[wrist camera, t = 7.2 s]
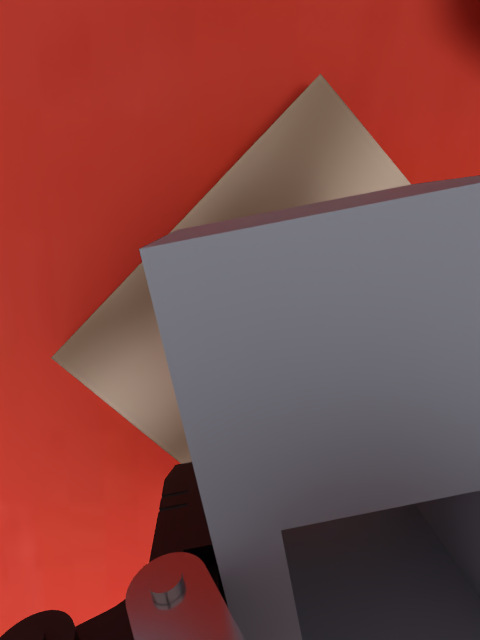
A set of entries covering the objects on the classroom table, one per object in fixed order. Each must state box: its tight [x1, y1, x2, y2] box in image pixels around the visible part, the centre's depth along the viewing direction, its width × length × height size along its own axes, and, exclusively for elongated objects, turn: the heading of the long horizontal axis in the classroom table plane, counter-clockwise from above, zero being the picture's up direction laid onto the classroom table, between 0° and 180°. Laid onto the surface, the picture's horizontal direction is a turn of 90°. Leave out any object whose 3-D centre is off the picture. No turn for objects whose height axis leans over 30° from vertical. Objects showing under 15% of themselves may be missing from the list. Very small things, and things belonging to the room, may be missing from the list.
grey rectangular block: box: [139, 175, 480, 640], centre depth 9 cm, size 12×6×5 cm, turn 11°
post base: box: [51, 74, 411, 464], centre depth 14 cm, size 14×14×8 cm
